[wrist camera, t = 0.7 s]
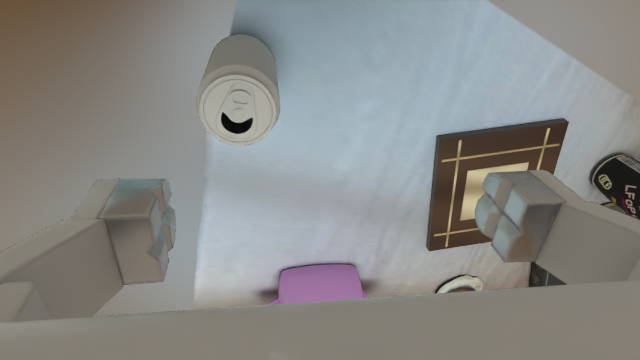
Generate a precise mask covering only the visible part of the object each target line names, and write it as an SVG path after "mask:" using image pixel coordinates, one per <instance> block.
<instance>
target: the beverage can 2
mask: <svg viewBox="0 0 640 360" xmlns="http://www.w3.org/2000/svg"><path fill="white" fill-rule="evenodd" d="M592 184H593V186H594V188H595V189H596V190H598V191H599V192H600V193H602V194H603V195H604V196H605V197H607V198H608V199H609V200H611V201H612V202H613V203H614V204H616V205H617V206H618V207H620V208H621V209H622V210H623V211H625V212H626V213H627V214H629V215H630V216H631V217H633V218H636V219H639V220H640V162H639V161H637V160H635V159H634V158H632V157H631V156H628V155H618V156H614V157H612V158H610V159H608V160H606V161H605V162H603V163H602V164H601V165H600V166H599V167H598V168H597V170H596V171H595V173H594V175H593V179H592Z"/></svg>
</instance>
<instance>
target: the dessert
mask: <svg viewBox="0 0 640 360" xmlns="http://www.w3.org/2000/svg"><path fill="white" fill-rule="evenodd" d="M482 288H483V283H482V280H481V279H480V277H474V278H472V277H471V276H469V275H465V276H462V277H458V278H456V279H454V280H453V281H451V282H449V283H447V284H445V285H444V286H442V288H441V289H440V290H439V291H438V292H437V293H451V292H466V291H481V290H482Z"/></svg>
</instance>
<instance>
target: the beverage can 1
mask: <svg viewBox="0 0 640 360" xmlns="http://www.w3.org/2000/svg"><path fill="white" fill-rule="evenodd" d="M196 103H197V110H198V114H199V116H200V118H201V120H202V122H203V124H204V126H205V128H206V129H207V130H208V131H209V133H210V134H212V135H213V136H214V137H216V138H217V139H218V140H220V141H222V142H225V143H227V144H231V145H248V144H252V143H255V142H257V141H259V140H261V139H262V138H264V137H265V136H266V135H267V134H268V133H269V132H270V130H271V129H272V128H273V127H274V125H275V123H276V122H277V120H278V117H279V113H280V98H279V90H278V82H277V75H276V67H275V61H274V58H273V55H272V53H271V52H270V50H269V49H268V47H267V46H266V45H265V44H264V43H263V42H261V41H260V40H259V39H257V38H255V37H252V36H249V35H244V34H237V35H232V36H229V37H226V38H225V39H223V40H221V41H220V42H219V43H218V44H217V45H216V47H215V48H214V49H213V51H212V54H211V56H210V59H209V62H208V65H207V67H206V70H205V73H204V76H203V78H202V81H201V84H200V87H199V89H198V93H197V98H196Z"/></svg>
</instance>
